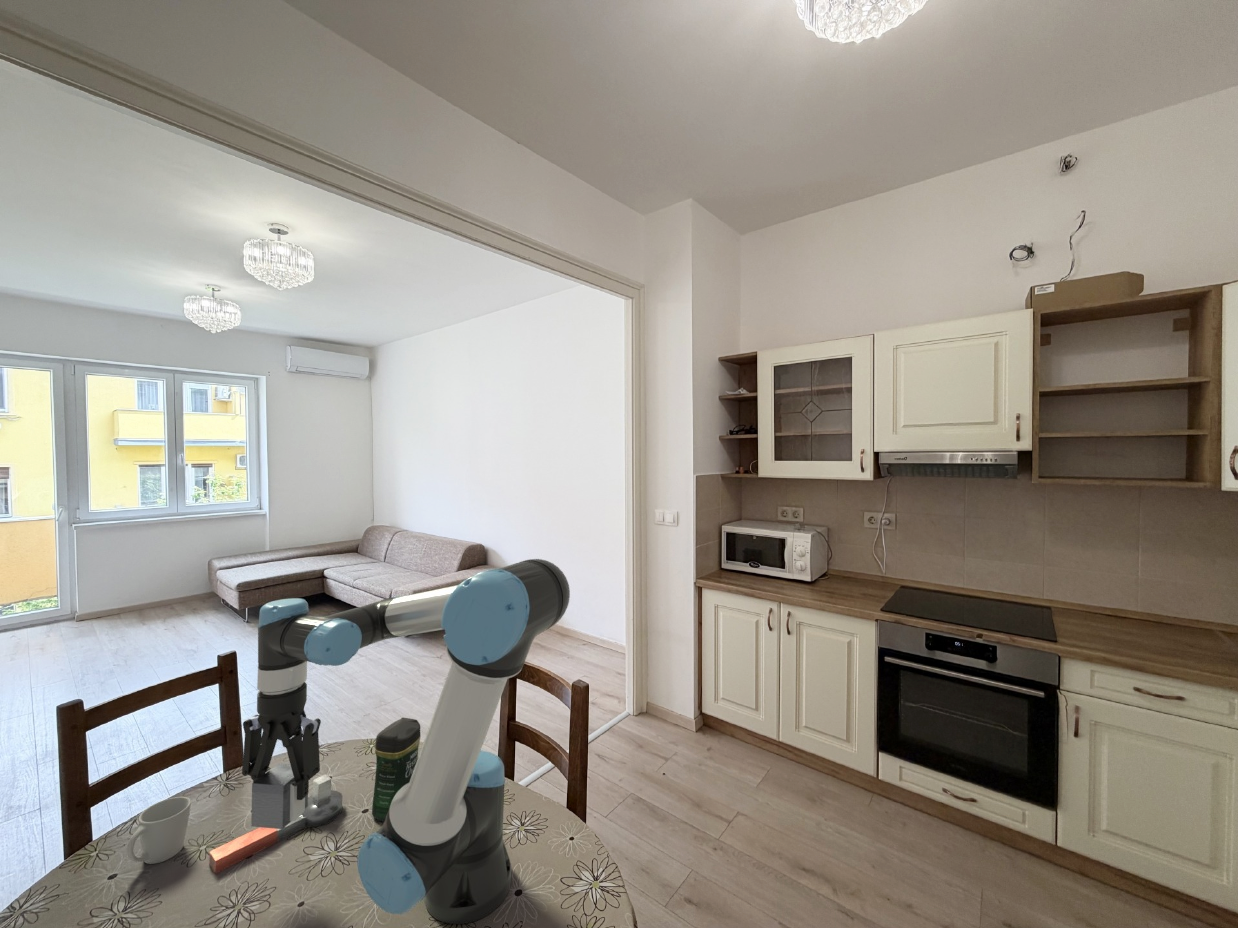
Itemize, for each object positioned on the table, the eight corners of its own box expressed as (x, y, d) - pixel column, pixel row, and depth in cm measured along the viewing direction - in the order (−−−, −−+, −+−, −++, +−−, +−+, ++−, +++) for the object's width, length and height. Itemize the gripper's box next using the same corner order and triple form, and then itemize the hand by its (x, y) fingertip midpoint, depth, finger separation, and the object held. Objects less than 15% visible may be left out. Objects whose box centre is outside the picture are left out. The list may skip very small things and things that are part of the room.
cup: (199, 841, 99) (201, 798, 99) (145, 882, 89) (147, 834, 90) (167, 836, 100) (169, 794, 101) (110, 875, 91) (112, 829, 91)
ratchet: (332, 796, 114) (333, 763, 114) (348, 811, 109) (349, 777, 109) (205, 858, 95) (206, 819, 95) (219, 879, 90) (220, 838, 90)
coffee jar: (397, 826, 105) (400, 738, 105) (365, 820, 106) (368, 733, 107) (424, 797, 114) (427, 716, 114) (394, 791, 116) (397, 712, 116)
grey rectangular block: (307, 806, 92) (308, 765, 93) (282, 828, 86) (283, 785, 87) (278, 803, 93) (279, 763, 93) (251, 826, 87) (252, 783, 87)
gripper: (344, 680, 93) (342, 804, 92) (252, 675, 95) (250, 796, 95) (316, 698, 85) (313, 833, 85) (216, 692, 88) (214, 824, 87)
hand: (280, 814), depth 90 cm, fingers closed on grey rectangular block, 6 cm apart
